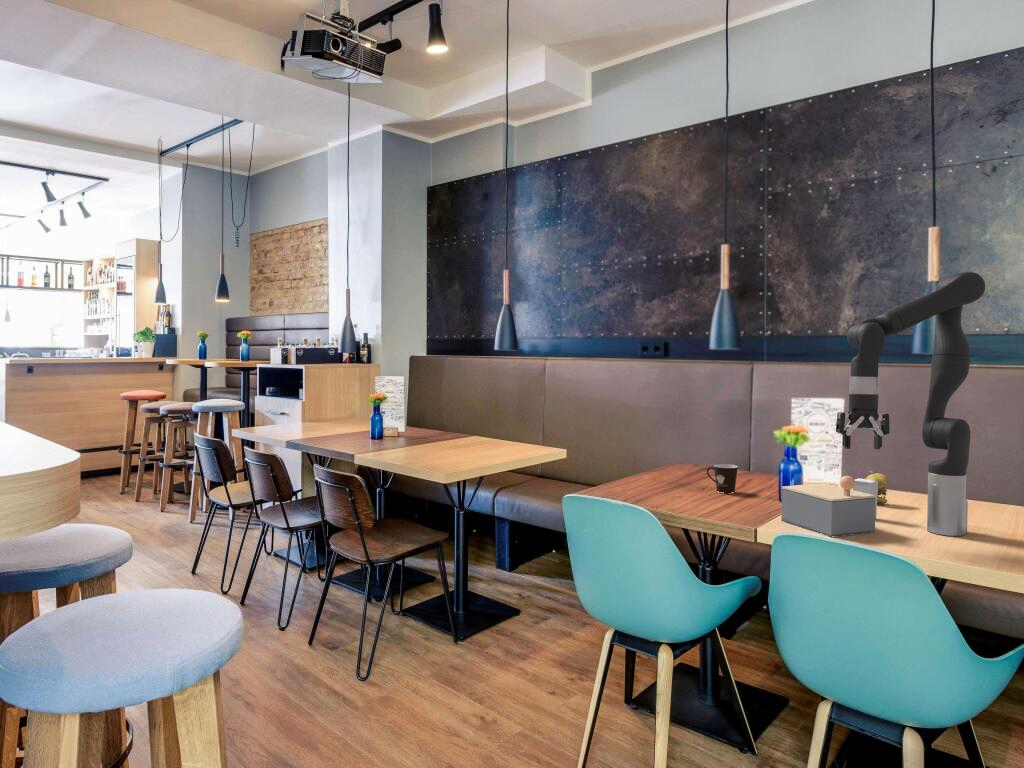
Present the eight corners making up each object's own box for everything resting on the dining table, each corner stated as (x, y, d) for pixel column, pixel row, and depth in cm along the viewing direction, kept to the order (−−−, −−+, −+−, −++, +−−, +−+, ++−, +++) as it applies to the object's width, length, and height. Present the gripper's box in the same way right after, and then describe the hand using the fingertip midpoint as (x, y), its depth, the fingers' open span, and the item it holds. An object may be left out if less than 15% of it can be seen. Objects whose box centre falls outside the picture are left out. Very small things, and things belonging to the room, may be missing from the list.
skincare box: (851, 517, 209) (851, 479, 209) (857, 515, 212) (858, 477, 212) (871, 521, 204) (871, 482, 204) (877, 519, 207) (878, 480, 207)
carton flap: (822, 484, 210) (822, 465, 210) (875, 497, 191) (875, 475, 191) (781, 488, 205) (781, 467, 205) (831, 501, 186) (832, 479, 186)
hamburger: (893, 505, 226) (894, 470, 225) (878, 507, 223) (878, 472, 222) (873, 501, 233) (874, 467, 232) (858, 502, 230) (859, 468, 230)
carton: (822, 516, 210) (822, 485, 210) (874, 532, 191) (875, 498, 191) (781, 520, 205) (781, 489, 205) (831, 537, 186) (831, 502, 186)
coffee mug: (742, 493, 246) (742, 467, 246) (722, 495, 244) (722, 468, 243) (724, 488, 257) (724, 462, 257) (704, 489, 255) (705, 463, 255)
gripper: (881, 392, 193) (879, 448, 193) (832, 391, 193) (830, 446, 193) (896, 393, 185) (894, 451, 186) (845, 392, 186) (843, 449, 186)
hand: (861, 448), depth 189 cm, fingers open, 8 cm apart
